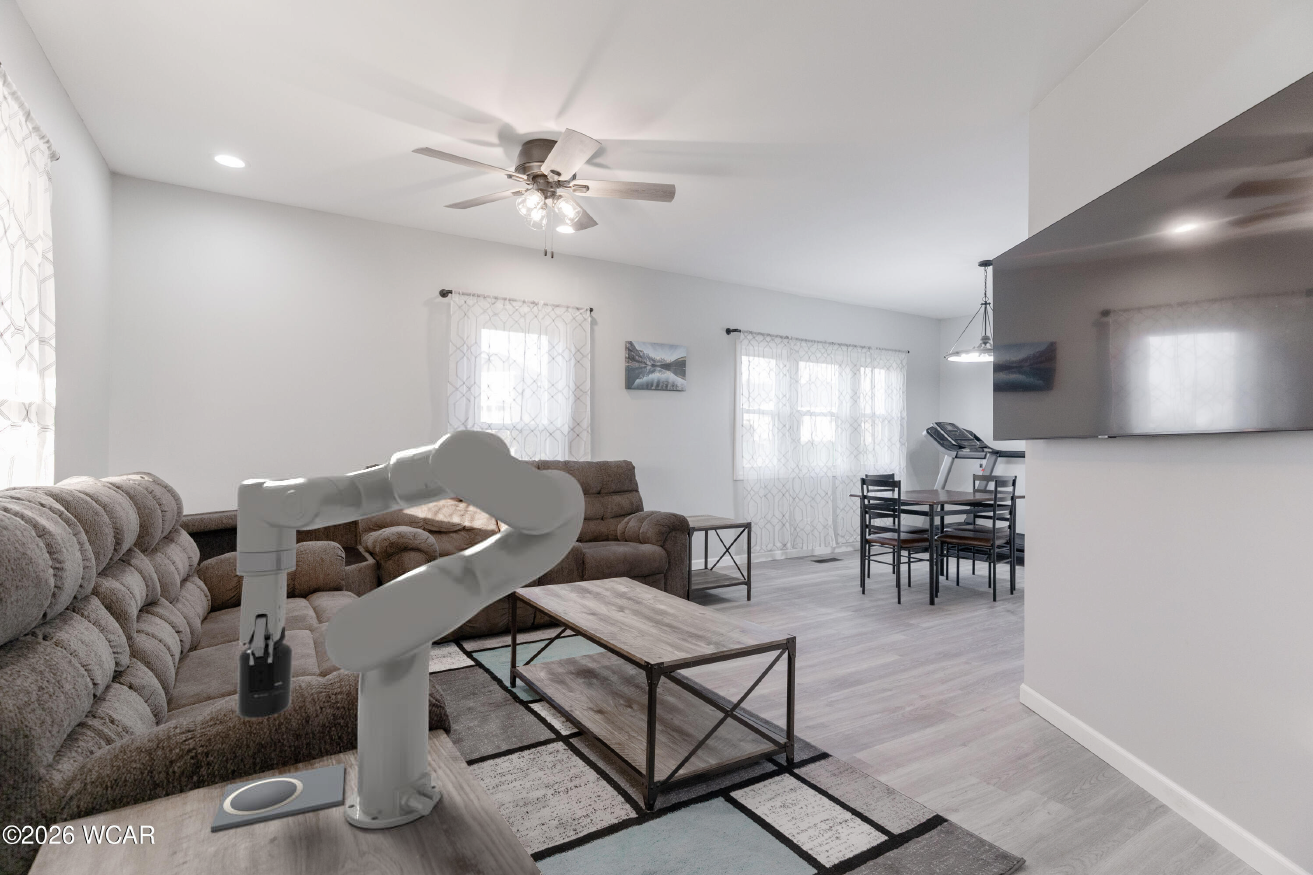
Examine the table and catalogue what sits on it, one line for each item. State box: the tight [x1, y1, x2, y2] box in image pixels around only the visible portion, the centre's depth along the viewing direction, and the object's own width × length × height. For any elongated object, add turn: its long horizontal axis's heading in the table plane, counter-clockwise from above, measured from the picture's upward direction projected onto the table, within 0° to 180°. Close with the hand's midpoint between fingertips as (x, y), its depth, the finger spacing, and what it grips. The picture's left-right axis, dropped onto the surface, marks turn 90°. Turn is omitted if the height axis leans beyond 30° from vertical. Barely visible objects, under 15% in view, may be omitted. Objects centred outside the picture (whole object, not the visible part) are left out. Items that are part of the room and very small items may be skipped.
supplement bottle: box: [236, 625, 293, 719], centre depth 95 cm, size 7×7×12 cm
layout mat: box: [210, 763, 345, 832], centre depth 95 cm, size 16×12×1 cm
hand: (265, 681), depth 95 cm, fingers closed on supplement bottle, 6 cm apart
